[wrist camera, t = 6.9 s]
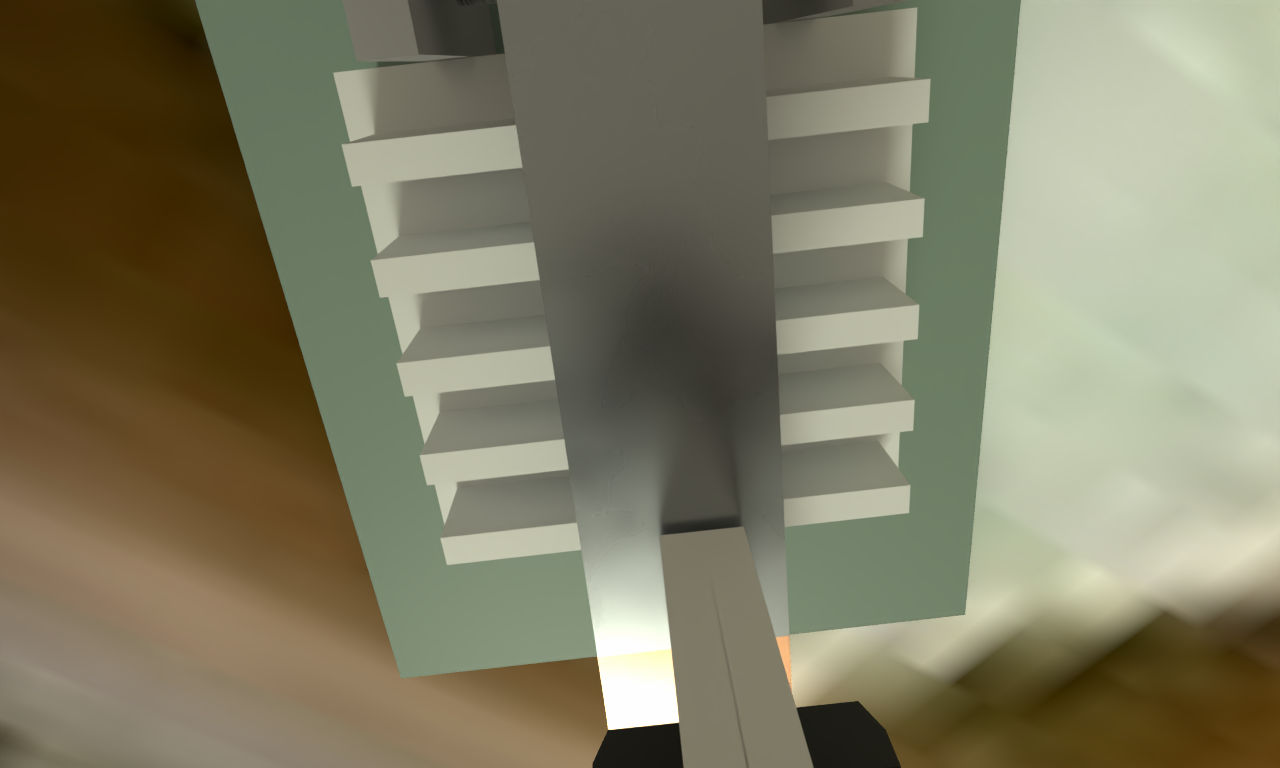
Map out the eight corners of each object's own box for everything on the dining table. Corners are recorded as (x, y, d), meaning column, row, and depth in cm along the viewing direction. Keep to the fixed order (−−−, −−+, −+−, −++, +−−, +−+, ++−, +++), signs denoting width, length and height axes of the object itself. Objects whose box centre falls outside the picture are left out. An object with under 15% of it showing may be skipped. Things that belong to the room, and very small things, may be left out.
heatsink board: (410, 650, 25) (313, 945, 17) (145, -256, 15) (-395, -630, 7) (948, 590, 25) (1121, 853, 17) (1023, -353, 15) (1518, -840, 7)
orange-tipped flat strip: (594, 758, 17) (592, 831, 15) (448, -122, 11) (419, -166, 9) (807, 734, 17) (829, 803, 15) (775, -160, 11) (806, -210, 9)
